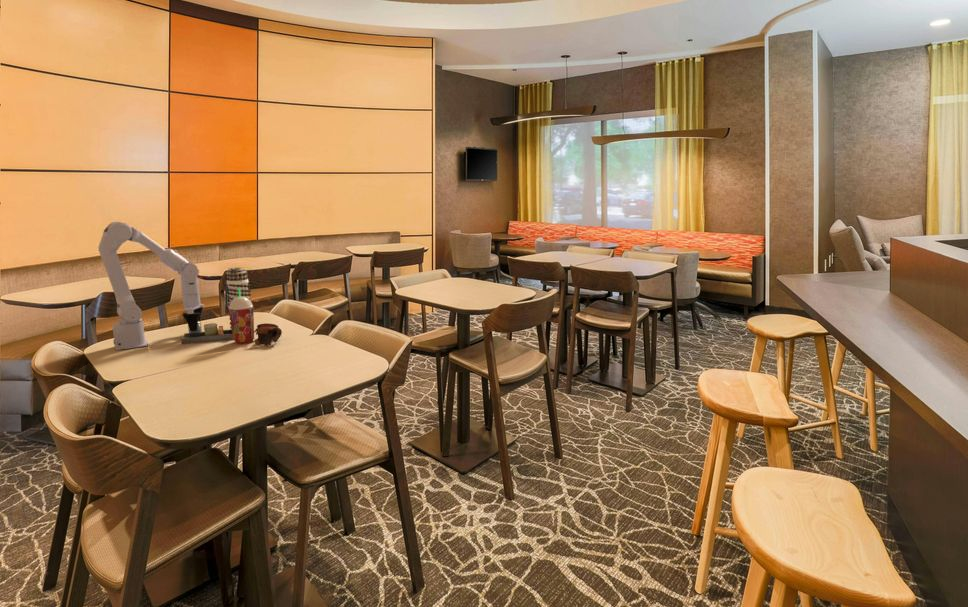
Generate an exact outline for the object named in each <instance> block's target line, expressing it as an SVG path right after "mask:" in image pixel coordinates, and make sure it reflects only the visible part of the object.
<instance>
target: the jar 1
mask: <svg viewBox="0 0 968 607" xmlns="http://www.w3.org/2000/svg"><path fill="white" fill-rule="evenodd" d="M201 322H202V321H201V320H200V321H198V327H197V331H190V328H189V326H188V325H187V327H188V333H196V332H203V331H202V323H201Z"/></svg>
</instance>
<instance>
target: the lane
mask: <svg viewBox="0 0 968 607" xmlns="http://www.w3.org/2000/svg"><path fill="white" fill-rule="evenodd" d="M223 332H224V334H223V335H212V336H205V331H202V332H196V333H189V332H188V333H186V332H185V333H184V335H183V337H181V338H180V343H181V345H187V344H188V345H190V344H195V343H196V344H198V343H209V342H221V341H222V342H223V341H231V340H233V341H234V338H233V332H232V329H231V328H230V329H223Z"/></svg>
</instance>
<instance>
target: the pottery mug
mask: <svg viewBox="0 0 968 607" xmlns="http://www.w3.org/2000/svg"><path fill="white" fill-rule="evenodd" d="M256 327H257V328H255V329H254V334H255V335H257V338H256V339H255V338H254V344H255V345H258V346H259V345H260V346H271V345H272V342H274V343H276V342H278V340H279V339H280V338H281V336H282V333H283V332H282V329H281V328H279V326H278V325H277V324H274V323H266V322H265V323H260V324H257V325H256Z"/></svg>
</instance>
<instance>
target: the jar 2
mask: <svg viewBox="0 0 968 607" xmlns="http://www.w3.org/2000/svg"><path fill="white" fill-rule="evenodd" d="M218 328H219V327H218V324H217V323H216V322H215V323H212V322H210V323H206V324H204V325H203V330H204V331H203V332H205V336H212V335H218Z"/></svg>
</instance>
